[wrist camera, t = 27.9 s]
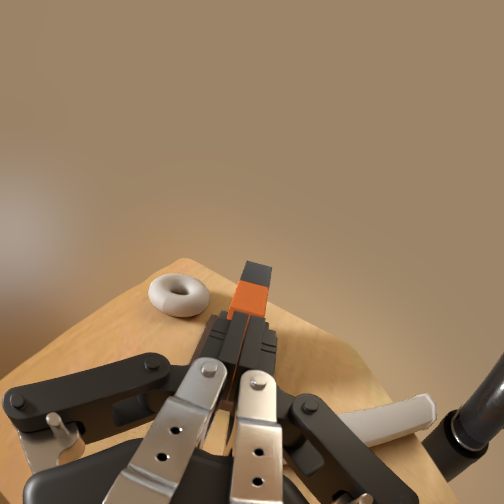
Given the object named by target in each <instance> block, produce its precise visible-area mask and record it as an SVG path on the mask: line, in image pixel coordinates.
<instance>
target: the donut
mask: <svg viewBox="0 0 504 504" xmlns="http://www.w3.org/2000/svg"><path fill="white" fill-rule="evenodd" d="M148 293H149V298H150V301H151V303H152V304H153V305H154V306H155V307H156V308H157V309H158V310H160V311H161V312H163V313H165V314H168V315H171V316H175V317H191V316H194V315H197V314H200V313H201V312H202V311H204V310H205V309H206V308H207V306H208V304H209V302H210V293H209V290H208V289H207V287H206V286H205V285H204V284H203V283H202V282H201V281H200V280H198V279H196V278H194V277H191V276H188V275H184V274H166V275H162V276H160V277H158V278H156V279H155V280H154V281H153V282H152V283H151V285H150V288H149V292H148ZM174 293H179V294H183V295H177V294H174Z"/></svg>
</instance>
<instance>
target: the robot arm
mask: <svg viewBox="0 0 504 504" xmlns="http://www.w3.org/2000/svg"><path fill="white" fill-rule="evenodd" d="M248 317H249V314H247V313H243V312H239V311H235V310H234V313H233V316H232V319H231V320H229V319H225V318H219V319H218V320H217V321H215V322H214V324H213V326H212V328H211V331H210V333H209V336H208V338H207V340H206V343H205V345H204V347H203V350H202V352H201V355H200V357H199V358H198V359H196V360H195V361H194V362H193V363H192V364H190V365H185V366H179V365H170V362H169V361H168V359H167V358H165V357H164V356H163V355H160V354H158V353H151V352H149V353H144V354H140V355H137V356H134V357H131V358H127V359H124V360H121V361H117V362H114V363H110V364H107V365H103V366H100V367H96V368H93V369H89V370H85V371H82V372H78V373H74V374H70V375H66V376H62V377H58V378H54V379H50V380H46V381H42V382H37V383H33V384H28V385H24V386H19V387H14V388H11V389H9V390H8V391H7V392H6V393H5V394H4V396H3V399H2V406H3V409H4V411H5V413H6V414H7V416H8V417H9V419H10V420H11V423H12V425H13V426H14V428H15V429H16V430H17V432H18V434H19V437H20V441H21V444H22V447H23V450H24V453H25V455H26V458H27V461H28V464H29V466H30V469H31V471H32V474H33V475H32V476H31V477H30V478H29V479H28V481H27V482H26V484H25V486H24V489H23V504H309V502H308V501H307V500H306V499H305V497H304V496H303V495H302V493H301V492H300V491H299V490H298V488H297V487H296V486H295V485H294V483H293V482H292V481H291V480H290V479H288V478H287V477H286V476H285V475H283V459H284V460H285V461H286V462H287V464H288V465H289V466H290V467H291V469H292V470H293V471H294V472H295V474H296V475H297V476H298V477H299V479H300V480H301V481H302V482H303V483H304V485H305V486H306V487H307V488H308V489H309V490H310V492H311V493H312V494H313V495H314V496H315V497H316V498H317V500H318V501H319V502H320V503H321V504H419V499H418V496H417V494H416V493H415V492H414V491H413V490H412V489H411V488H410V487H409V486H407V485H406V484H405V483H404V482H403V481H402V480H401V479H400V478H399V477H398V476H397V475H396V474H395V473H394V472H393V471H392V470H391V469H389V468H388V467H387V466H386V465H385V464H384V463H383V462H382V461H381V460H380V459H379V458H378V457H377V456H376V455H375V454H374V453H373V452H372V451H371V450H370V449H369V448H368V447H367V446H366V445H365V444H364V443H363V442H362V441H361V440H360V439H359V438H358V437H357V436H356V435H355V434H354V433H353V432H352V431H351V430H350V429H349V428H348V426H347V425H346V424H345V423H344V422H343V421H342V420H341V419H340V418H339V417H338V416H337V415H336V414H335V413H334V412H333V411H332V410H331V409H330V408H329V407H328V405H327V404H326V403H325V402H324V401H323V400H322V399H321V398H319V397H318V396H316V395H313V394H300V395H298V396H297V397H294V396H291V395H289V394H287V393H285V392H284V391H282V390H281V389H280V388H279V387H278V386H277V385H276V382H275V380H274V371H275V360H276V349H277V348H276V347H277V337H276V335H275V333H274V331H271V330H267V329H264V325H265V318H262V317H258V316H254V315H250V318H249V322H248ZM247 322H248V325H247ZM246 326H247V329H246ZM245 330H246V332H245ZM244 334H245V336H244ZM243 338H244V339H243ZM242 342H243V343H242ZM241 346H242V347H241ZM236 365H237V366H236ZM235 369H236V370H235ZM234 372H235V374H234ZM233 376H234V378H233ZM232 379H233V382H232ZM231 383H232V386H231ZM230 386H231V390H230V394H229V398H228V401H230V402H232V407H231V410H230V413H229V417H228V423H227V431H226V438H225V445H224V451H223V456H218V455H212V454H210V453H208V452H206V451H204V450H202V448H203V445H204V443H205V440H206V438H207V435H208V433H209V430H210V428H211V425H212V423H213V420H214V418H215V415H216V412H217V411H218V409H219V407H220V404H221V400H226V399H227V396H228V393H229V389H230ZM153 420H154V422H153V423H152V425H151V427H150V429H149V430H148V432H147V434H146V435H145V437H144V438H137V439H132V440H128V441H125V442H123V443H120V444H118V445H115V446H113V447H110V448H108V449H105V450H103V451H100V452H97V453H95V454H92V455H89V456H86V457H84V458H81V459H78V458H80V457H81V456H82V455H83V453H84V451H85V445H87V444H90V443H93V442H96V441H99V440H102V439H105V438H108V437H111V436H114V435H116V434H119V433H122V432H125V431H127V430H130V429H133V428H135V427H138V426H140V425H143V424H145V423H148V422H150V421H153ZM501 429H504V352H503V354H502V355H501V357H500V358H499V360H498V361H497V363H496V364H495V366H494V367H493V368H492V370H491V371H490V373H489V374H488V376H487V377H486V378H485V380H484V381H483V382H482V384H481V385H480V386H479V387H478V389H477V390H476V391H475V392H474V394H473V395H472V396H471V397H470V398H469V400H468V401H467V402H466V403H465V404H464V405H463V407H462V408H461V406H460V408H459V409H458V410H457V413H456V414H455V415H454V416H453V417H452V418H451V420H450V423H449V430H450V434H451V437H452V439H453V440H454V442H455V443H456V444H457V445H458V446H459V447H460V448H461V449H462V450H464V451H466V452H469V453H476V452H479V451H480V450H482V449H483V448H484V447H485V446H486V444H487V443H488V442H489V441H490V440H491V439H492V438H493V437H494V436H496V434H498V433H499V431H500V430H501ZM76 459H78V460H76ZM74 460H75V461H74Z"/></svg>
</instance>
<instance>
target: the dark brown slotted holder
mask: <svg viewBox="0 0 504 504" xmlns="http://www.w3.org/2000/svg"><path fill="white" fill-rule="evenodd" d="M271 271H272V267H269V266H265V265H261V264H257V263H253V262H250V261H247V262H246V265H245V268H244V270H243V273H242V276H241V279H240V280H242V281H246V282H249V283H253V284H257V285H261V286H264V287H268V288H269V286H270V279H271ZM227 316H228V312H226V311H221V313H220V315H219V316H216V315H213V314H212V315H211V317H210V319H209V321H208V323H207V325H206V328H205V330H204V332H203V334H202V337H201V339H200V341H199V343H198V345H197V348H196V350H195V352H194V354H193V357H192V359H191V361H190V363H189V365H190V364H192V363H193V362H194V361H195V360H196V359H198V358H199V357H200V355H201V352H202V350H203V347H204V345H205V343H206V340H207V338H208V336H209V333H210V331H211V328H212V326H213V324H214V322H215V321H217V320H218V319H219V318H225V319H227ZM268 327H269V323H268V322H265V325H264V329H267V330H269V329H268ZM271 331H273V330H271ZM275 332H276V331H274V333H275ZM232 382H233V379H232ZM231 386H232V383H231ZM231 386H230V389H229V393H228V396H227V399H226V400H221V404H220V407H219V409H223V410H226V411H230V410H231V407H232V402H230V401H228V398H229V394H230V390H231Z"/></svg>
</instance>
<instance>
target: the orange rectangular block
mask: <svg viewBox="0 0 504 504" xmlns="http://www.w3.org/2000/svg"><path fill="white" fill-rule="evenodd" d="M268 290H269V288H268V287H264V286H261V285H257V284H253V283H249V282H246V281H242V280H239V283H238V285H237V288H236V291H235V293H234V296H233V299H232V302H231V304H230V307H229V312H228V316H227V319H229V320H231V319H232V316H233V313H234V310H235V311H239V312H243V313H247V314H249V317H248V322H249V318H250V315H254V316H258V317H262V318H264V316H265V309H266V303H267V296H268ZM248 322H247V325H248ZM246 329H247V326H246ZM245 332H246V330H245ZM244 336H245V334H244ZM243 339H244V338H243ZM242 343H243V342H242ZM241 347H242V346H241ZM236 366H237V365H236ZM235 370H236V369H235ZM234 374H235V372H234ZM233 378H234V376H233Z"/></svg>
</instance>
